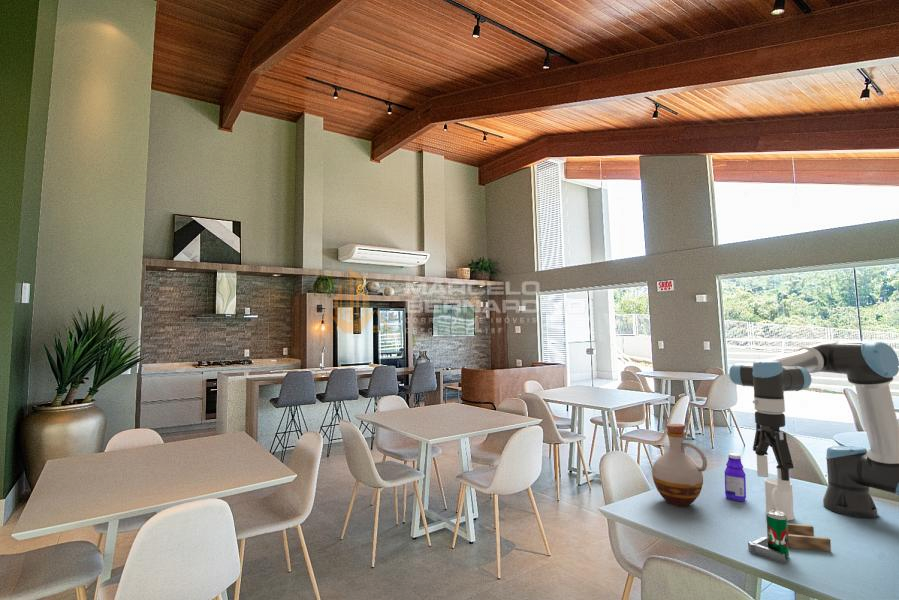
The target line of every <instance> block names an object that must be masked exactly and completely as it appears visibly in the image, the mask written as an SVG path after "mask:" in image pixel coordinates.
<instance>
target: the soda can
mask: <svg viewBox="0 0 899 600" xmlns="http://www.w3.org/2000/svg"><path fill="white" fill-rule="evenodd" d="M787 523H788V520H787V518H786V515H785V514H784V513H782V512H779V511H773V510H770V511H768V513H767V514H766V537H767V540H768V547H767V548H770V549H773V550H775V551H778V552H781V553H784V554H785V559H787V558H788V557H789V556H790V550H789V546H788V524H787Z"/></svg>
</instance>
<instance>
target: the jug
mask: <svg viewBox="0 0 899 600" xmlns="http://www.w3.org/2000/svg"><path fill="white" fill-rule="evenodd" d="M665 427H666V429H667V431H666V435H667V437H668V441H669V442H668V443H669V444H668V445H669V448H668V450H666V451H665V452H664V453H663V454H662V455H661V456H659V457H658V458H657V459H656V460H654V463H653V464H652V467H651V475H652V480H653V483H654V486H655V487H656V490H657V492H658V493H659V495H660V496H661V498H663V499H664V501H665V502H666V503H667V504H668V505H670V506H673V507H678V508H688V507H690V506H691V505H692V504H693V503H694V502H695V501H696V500H697V498H699V496H700V493H701V491H702V488H703V485H704V475H703V472H704V471H706V470H707V466H708V460H707V457H706V455H705V453H704V452H703V451H702V450H701V449H700V448H699V447H698V446H697V445H695V444H694V443H691V442H684V437H685V436H686V433H685V431H684V430H685V428H686V425H685V424H683V423H682V424H681V423H667V424H665ZM686 447H688V448H691V449H693V450H695V451H696V452H697V453H698V454H699V456H700V457H701V460H702V465H701V467H700V466H699V464H697V463H696V462H695V461H694V459H692V458H691V457H690V456H689V455H688V454H687V452H685V448H686Z"/></svg>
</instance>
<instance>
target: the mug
mask: <svg viewBox="0 0 899 600" xmlns="http://www.w3.org/2000/svg"><path fill="white" fill-rule="evenodd" d="M764 491H765V514H766V515H767V513H768V511H770V510H773V511H779V512H782V513H784V514H785V515H786V518H787V521H793V520H795V513H794V498H793V495H794V494H793V483H792V482H790V492H782V491H778V478H775V477H774V478H773V477H766V478H764Z"/></svg>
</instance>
